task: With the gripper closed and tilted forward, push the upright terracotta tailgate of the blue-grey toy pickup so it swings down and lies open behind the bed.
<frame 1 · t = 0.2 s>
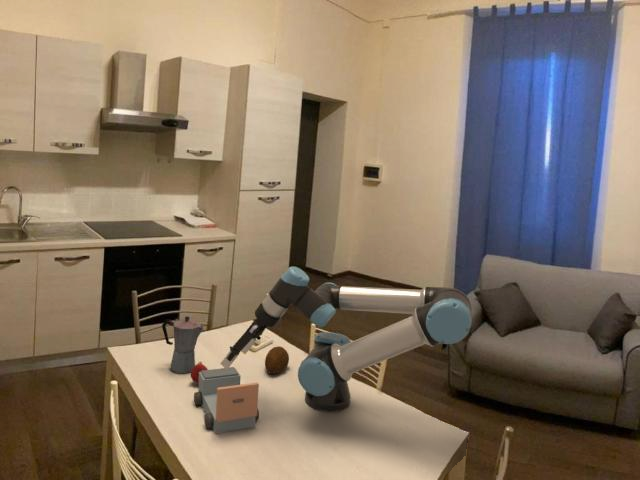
hand: (233, 358, 170), 15 cm above the table, tool tilted 35°, fingers open, 13 cm apart
red rounded piece: (198, 384, 183), on the table
tailgate: (237, 402, 154), point 9 cm above the table, hinge at 0.0°
pickup bed: (227, 416, 164), on the table
potato: (274, 370, 199), on the table
moka pot: (181, 369, 194), on the table
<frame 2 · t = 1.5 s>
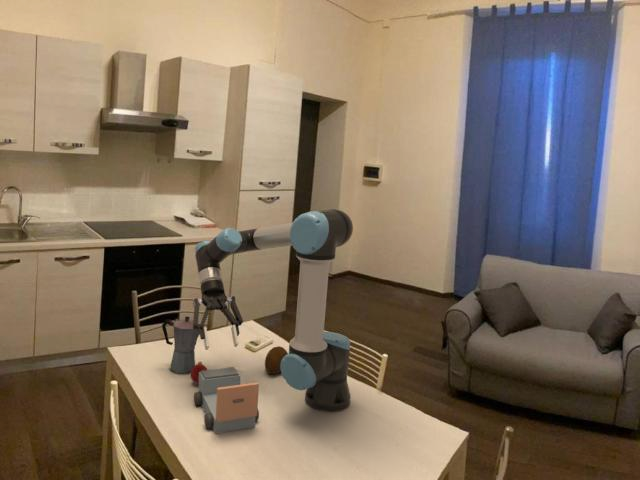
hand: (222, 346, 169), 19 cm above the table, tool tilted 45°, fingers open, 9 cm apart
nothing on the table moved.
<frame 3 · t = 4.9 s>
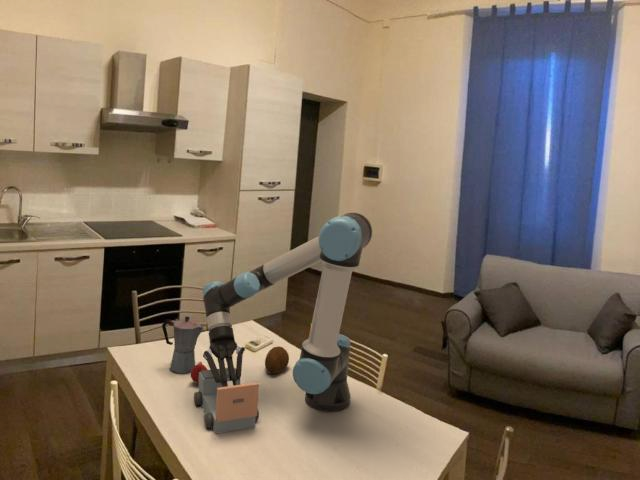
hand: (232, 404, 156), 8 cm above the table, tool tilted 45°, fingers closed
tailgate: (237, 402, 154), point 9 cm above the table, hinge at 0.2°, touching gripper
everything else where it was.
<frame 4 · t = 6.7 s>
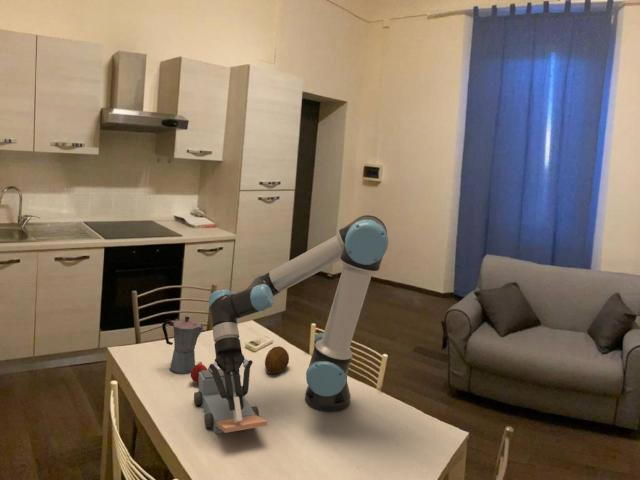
hand: (238, 421, 147), 8 cm above the table, tool tilted 45°, fingers closed
tailgate: (241, 424, 151), point 5 cm above the table, hinge at 71.8°, touching gripper
everything else where it was.
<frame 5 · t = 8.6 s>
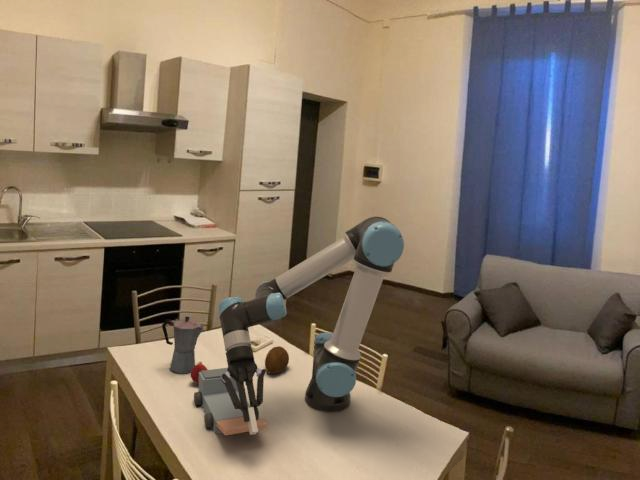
hand: (254, 433, 141), 8 cm above the table, tool tilted 45°, fingers closed
tailgate: (241, 425, 151), point 4 cm above the table, hinge at 76.0°
everything else where it was.
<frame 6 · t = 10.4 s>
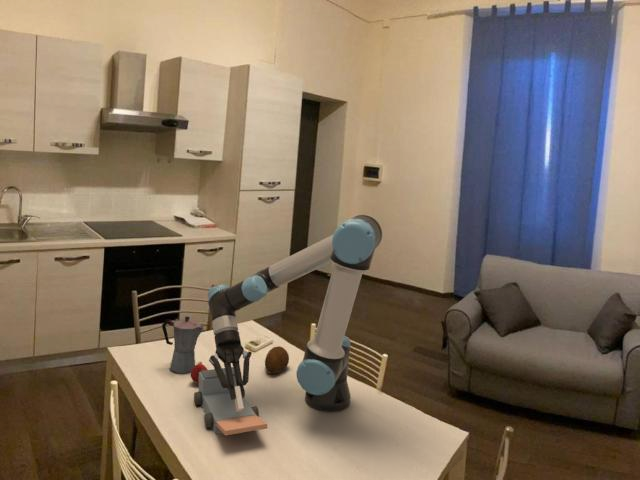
hand: (240, 409, 152), 8 cm above the table, tool tilted 45°, fingers closed
nothing on the table moved.
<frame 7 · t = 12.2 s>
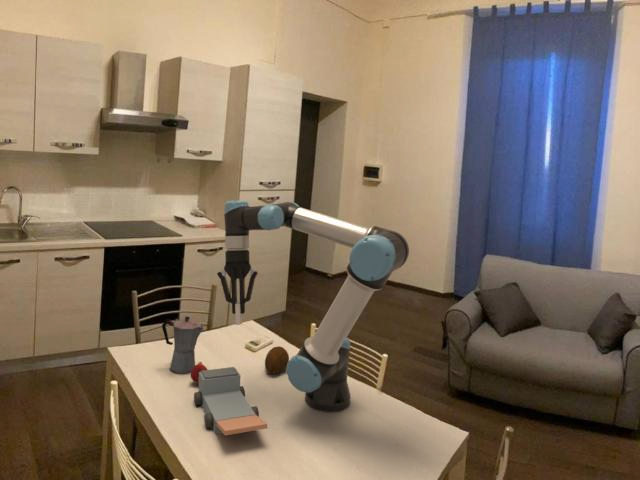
hand: (238, 324, 170), 26 cm above the table, tool pointing down, fingers closed
nothing on the table moved.
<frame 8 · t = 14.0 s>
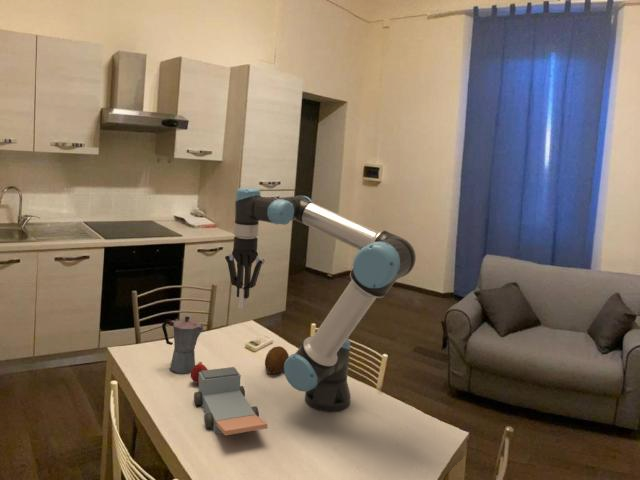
hand: (242, 307, 175), 29 cm above the table, tool pointing down, fingers closed
nothing on the table moved.
at the end: tailgate tilted 76° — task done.
